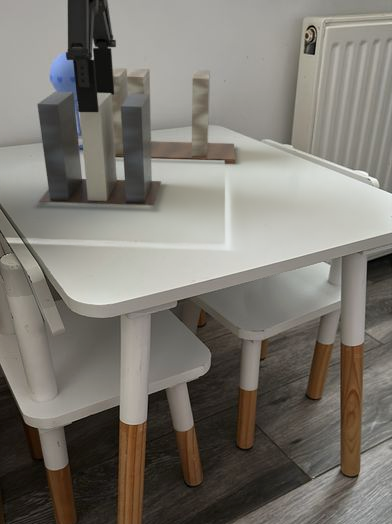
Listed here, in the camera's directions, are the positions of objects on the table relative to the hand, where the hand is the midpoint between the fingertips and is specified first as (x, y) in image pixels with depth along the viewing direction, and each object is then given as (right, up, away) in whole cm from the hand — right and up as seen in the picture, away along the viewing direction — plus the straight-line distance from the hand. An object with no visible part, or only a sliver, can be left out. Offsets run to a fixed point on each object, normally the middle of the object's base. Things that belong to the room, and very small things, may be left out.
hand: (97, 102), depth 84 cm
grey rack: (0, -12, +8) cm, 15 cm away
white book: (0, -11, +8) cm, 14 cm away
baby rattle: (-9, +4, +32) cm, 34 cm away
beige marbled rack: (+10, +3, +30) cm, 32 cm away
